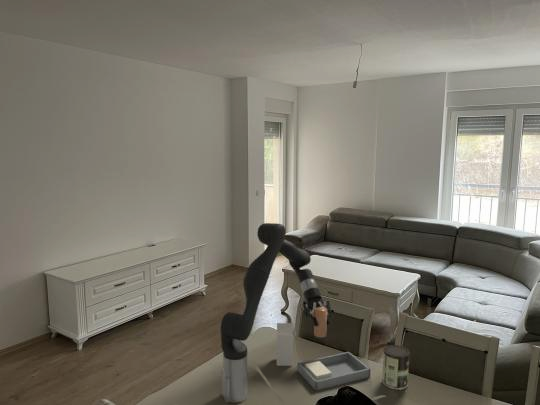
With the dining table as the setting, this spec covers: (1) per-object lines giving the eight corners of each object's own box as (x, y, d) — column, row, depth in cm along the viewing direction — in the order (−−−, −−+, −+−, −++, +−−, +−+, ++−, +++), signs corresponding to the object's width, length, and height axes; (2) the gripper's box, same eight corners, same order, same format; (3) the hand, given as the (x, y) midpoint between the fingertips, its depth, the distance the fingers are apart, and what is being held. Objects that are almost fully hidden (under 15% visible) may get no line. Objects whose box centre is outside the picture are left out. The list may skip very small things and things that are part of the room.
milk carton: (292, 367, 181) (293, 326, 179) (276, 367, 182) (276, 326, 179) (292, 359, 188) (292, 320, 186) (276, 359, 189) (277, 319, 186)
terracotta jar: (317, 338, 183) (318, 312, 181) (311, 333, 188) (312, 307, 186) (328, 336, 185) (329, 310, 183) (322, 331, 190) (323, 306, 188)
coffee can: (406, 377, 175) (408, 345, 173) (409, 391, 165) (411, 358, 163) (381, 374, 177) (382, 343, 175) (382, 388, 167) (384, 355, 165)
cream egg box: (316, 385, 166) (316, 376, 166) (304, 373, 175) (305, 364, 175) (331, 381, 169) (331, 372, 168) (319, 369, 178) (319, 361, 178)
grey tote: (315, 392, 163) (315, 382, 162) (297, 372, 178) (297, 362, 177) (370, 379, 173) (370, 369, 172) (348, 361, 188) (348, 351, 187)
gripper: (299, 288, 188) (311, 324, 178) (326, 285, 193) (339, 319, 184) (294, 296, 193) (305, 330, 184) (320, 292, 199) (333, 325, 189)
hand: (322, 324), depth 184 cm, fingers closed on terracotta jar, 5 cm apart
